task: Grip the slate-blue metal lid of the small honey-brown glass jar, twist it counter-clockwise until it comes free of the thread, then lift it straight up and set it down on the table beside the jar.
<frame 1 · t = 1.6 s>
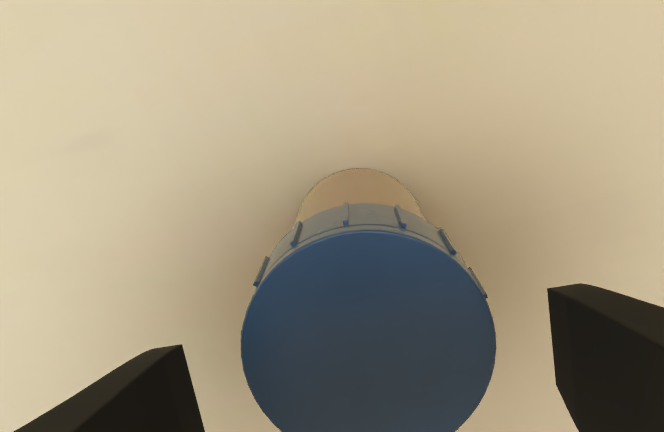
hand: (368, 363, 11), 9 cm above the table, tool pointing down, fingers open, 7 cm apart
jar: (359, 230, 20), on the table
lid: (367, 343, 12), point 9 cm above the table, screwed on, not yet turned
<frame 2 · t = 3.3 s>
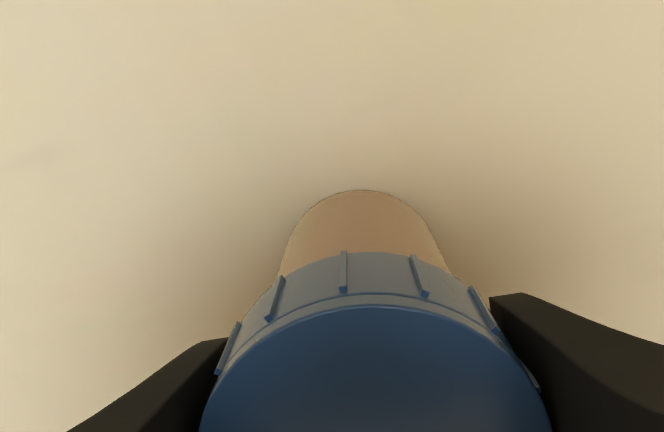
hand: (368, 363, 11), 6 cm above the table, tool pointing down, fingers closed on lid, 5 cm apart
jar: (360, 263, 17), on the table
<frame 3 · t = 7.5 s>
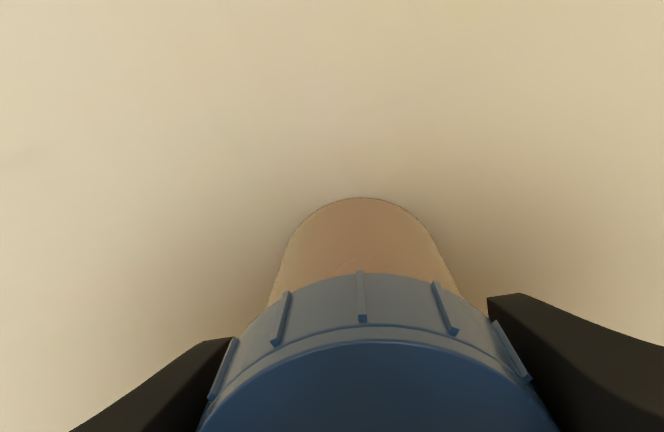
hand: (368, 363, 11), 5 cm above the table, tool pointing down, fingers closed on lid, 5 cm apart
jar: (361, 274, 16), on the table
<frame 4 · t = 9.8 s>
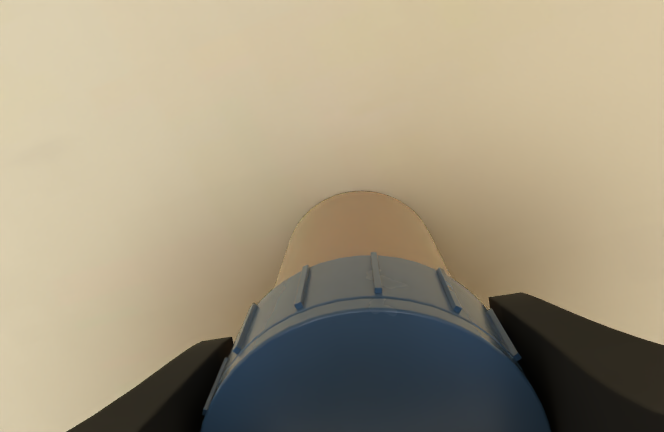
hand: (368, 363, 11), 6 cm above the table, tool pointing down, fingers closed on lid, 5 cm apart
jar: (360, 263, 17), on the table
when the fingers open (0 cm above the table, at t = 15.8 s): lid stays where it is, point 2 cm above the table.
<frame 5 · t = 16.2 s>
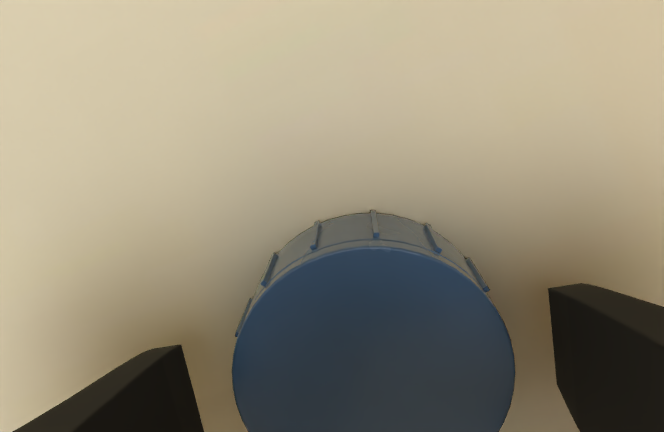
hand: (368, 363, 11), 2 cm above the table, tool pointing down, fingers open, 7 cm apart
lid: (371, 370, 11), point 2 cm above the table, off its thread
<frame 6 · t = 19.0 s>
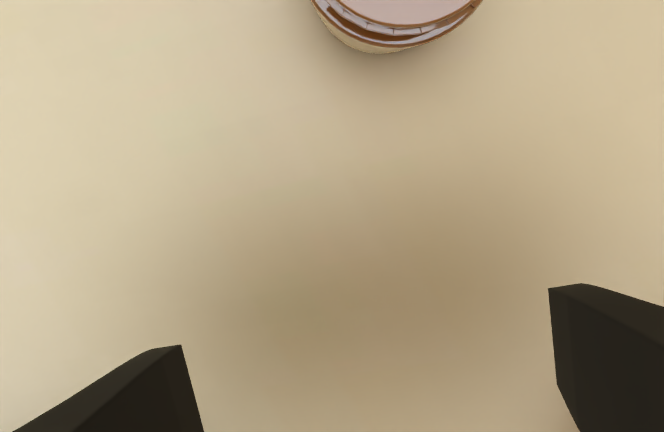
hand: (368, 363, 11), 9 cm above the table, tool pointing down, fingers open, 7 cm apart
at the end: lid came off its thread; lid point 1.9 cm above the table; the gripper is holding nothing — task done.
